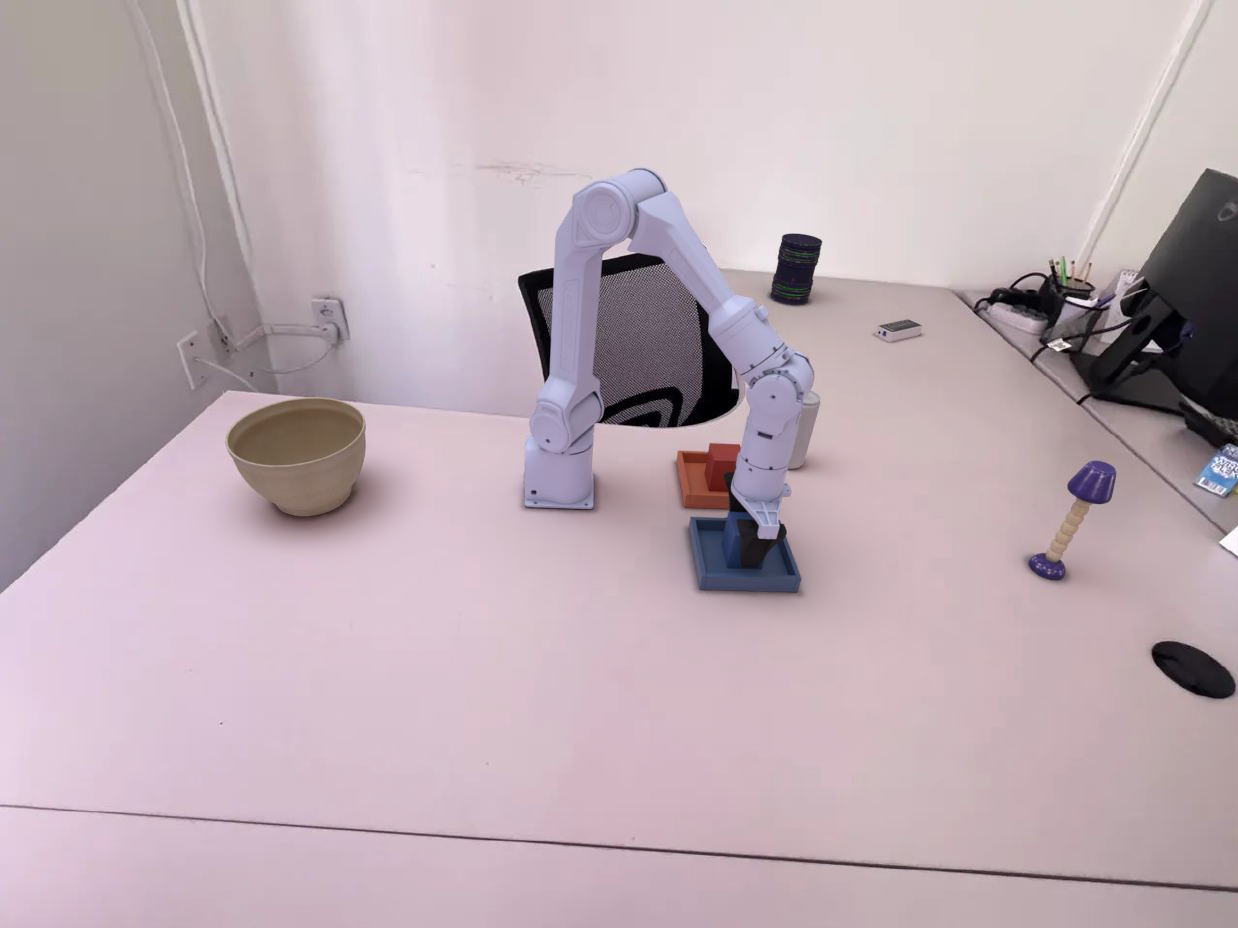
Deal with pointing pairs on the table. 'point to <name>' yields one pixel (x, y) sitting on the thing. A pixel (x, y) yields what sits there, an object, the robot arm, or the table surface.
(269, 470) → the planter bowl
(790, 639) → the table surface
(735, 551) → the blue block
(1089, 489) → the toy lamp
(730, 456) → the red block
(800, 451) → the beverage can
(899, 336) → the multiport hub
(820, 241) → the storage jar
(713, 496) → the orange tray
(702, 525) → the blue tray
